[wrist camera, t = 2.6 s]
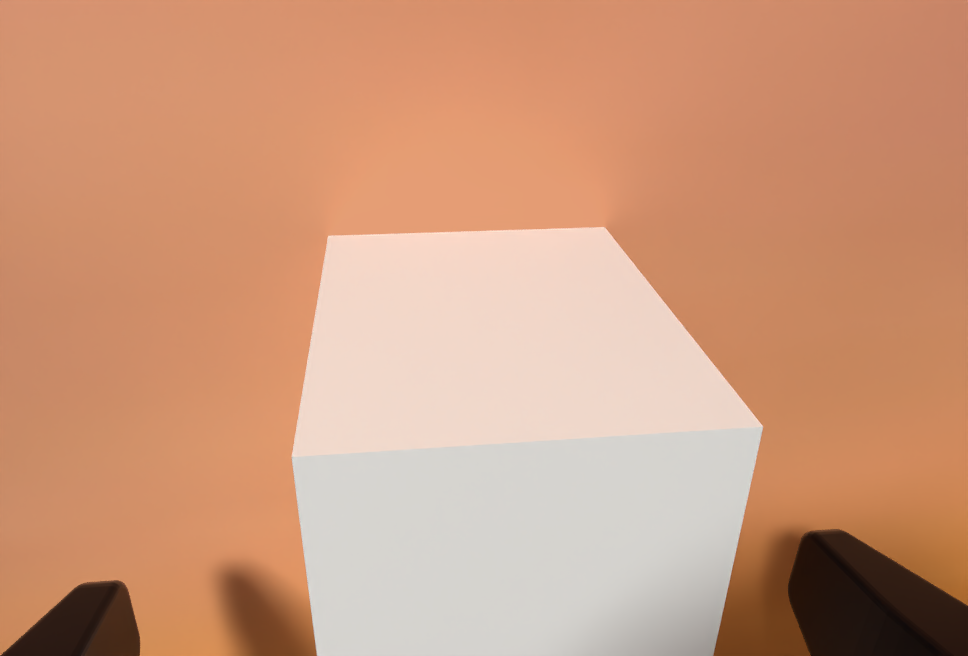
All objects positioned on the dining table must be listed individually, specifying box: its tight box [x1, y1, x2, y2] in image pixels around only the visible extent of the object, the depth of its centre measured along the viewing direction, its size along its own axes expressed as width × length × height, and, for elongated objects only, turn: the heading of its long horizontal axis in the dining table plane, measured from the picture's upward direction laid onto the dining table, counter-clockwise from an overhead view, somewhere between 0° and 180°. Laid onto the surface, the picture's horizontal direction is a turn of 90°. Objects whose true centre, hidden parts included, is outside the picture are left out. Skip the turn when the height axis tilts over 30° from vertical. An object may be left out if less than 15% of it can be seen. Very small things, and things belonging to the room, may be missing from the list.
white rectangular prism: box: [292, 227, 763, 656], centre depth 8 cm, size 7×3×4 cm, turn 179°
